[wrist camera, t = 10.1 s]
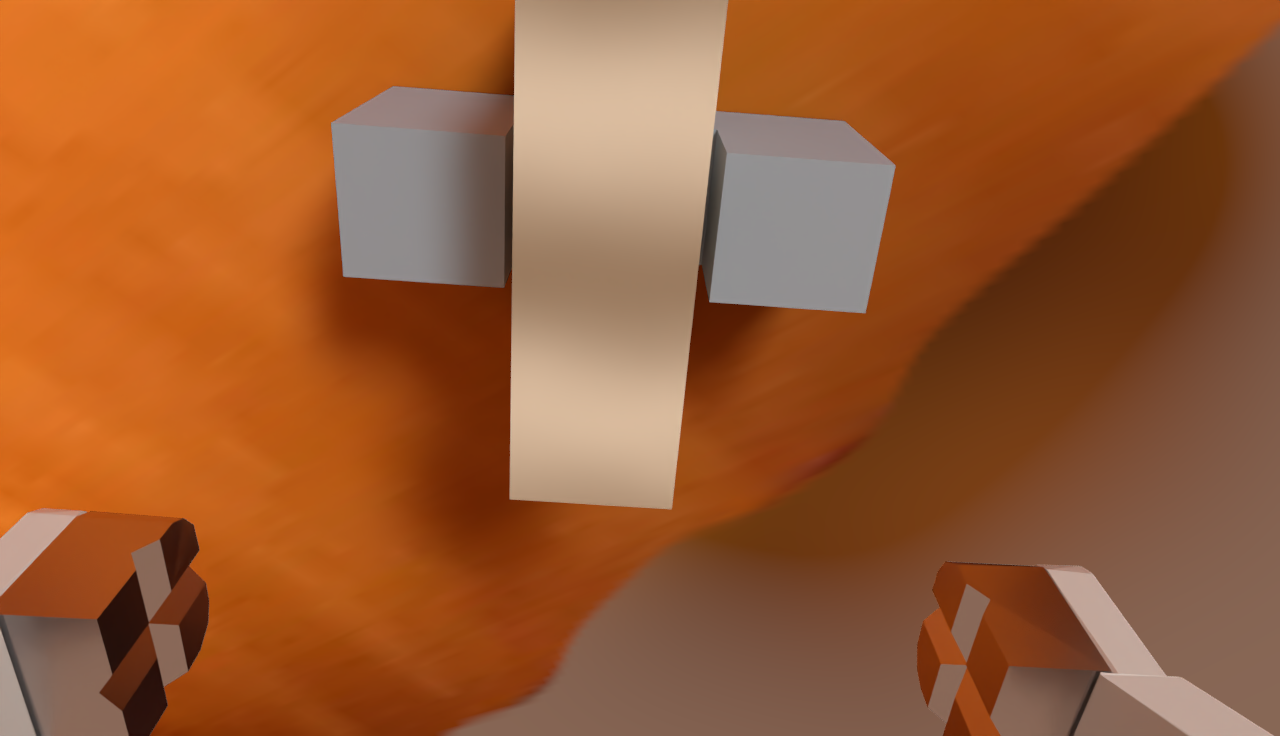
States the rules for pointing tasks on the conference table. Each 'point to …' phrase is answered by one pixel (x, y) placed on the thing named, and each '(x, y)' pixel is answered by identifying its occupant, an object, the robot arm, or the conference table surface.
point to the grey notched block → (733, 220)
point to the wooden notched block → (607, 240)
